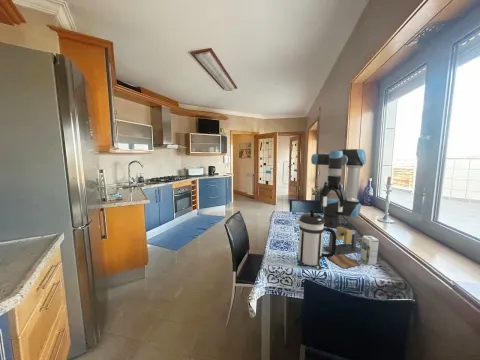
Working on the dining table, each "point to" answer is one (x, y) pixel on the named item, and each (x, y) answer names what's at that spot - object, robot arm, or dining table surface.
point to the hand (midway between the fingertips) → (331, 208)
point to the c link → (346, 234)
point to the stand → (344, 247)
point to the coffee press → (313, 239)
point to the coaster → (343, 261)
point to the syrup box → (369, 250)
